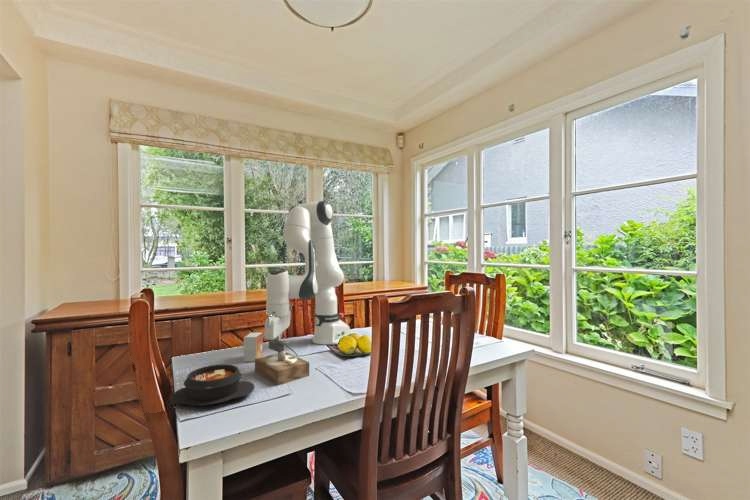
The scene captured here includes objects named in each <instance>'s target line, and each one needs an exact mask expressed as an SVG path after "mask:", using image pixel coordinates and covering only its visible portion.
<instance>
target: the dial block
mask: <svg viewBox="0 0 750 500" xmlns="http://www.w3.org/2000/svg"><path fill="white" fill-rule="evenodd" d="M285 359H286V360H289V361H292V363H290V362H287V361H278V352H277V353H274V354H270V355H265V356H262V357H261V358H257V359H255V361H254V373H256V374H258V375H259V376H261V377H263V378H264V379H267V380H268V381H269V382H272V383H273V384H275V385H276V386H280V385H284V384H287V383H291V382H293V381H296V380H300V379H302V378H306V377H309V376H310V362H309V361H307V360H305V359H304V358H303V359H302V358H300V357H298V356H295V355H294V354H292V353H291V354H290V353H289V352H287V351H285Z"/></svg>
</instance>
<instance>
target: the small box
mask: <svg viewBox="0 0 750 500" xmlns="http://www.w3.org/2000/svg"><path fill="white" fill-rule="evenodd" d="M263 336H264V334H263V332H250V333H248V334H247V335H245V336H243V362H255V359H257V358H261V357H264V356H263V355H264V353H263V351H264V347H263V345H264V344H263V342H264V340H263V339H264V338H263Z"/></svg>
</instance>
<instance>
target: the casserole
mask: <svg viewBox="0 0 750 500" xmlns="http://www.w3.org/2000/svg"><path fill="white" fill-rule="evenodd" d="M241 378H242V372H241V371H240V370H239V368H238V366H236V365H232V364H212V365H208V366H204V367H200V368H197V369H194V370H192V371H191V372H189V373H188V374H187V376H186V379H185V380H184V382H183V386H184V387H181V388H180V389H179V388H178V390H176V391H175V392H173V393H172V394H171V395H170V397H169V399H168V401H169V402H170V404H173V405H189V406H199V407H202V406H212V405H218V404H221V403H225V402H228V401H231V400H235V399H239V398H243V397H246V396H248V395H250V394H251V393H253V391H254V389H255V384H254V383H253V382H251V381H248V380H240V379H241Z"/></svg>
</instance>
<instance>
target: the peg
mask: <svg viewBox="0 0 750 500" xmlns="http://www.w3.org/2000/svg"><path fill="white" fill-rule="evenodd" d="M286 344H287V340H282V339H281V341H275V340H269V341H268V349H269V350H272V351H275V352H277V353H278V361H287V362H290V363H292V361H289V360H286V359H285V352H286V350H285V345H286Z"/></svg>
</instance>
